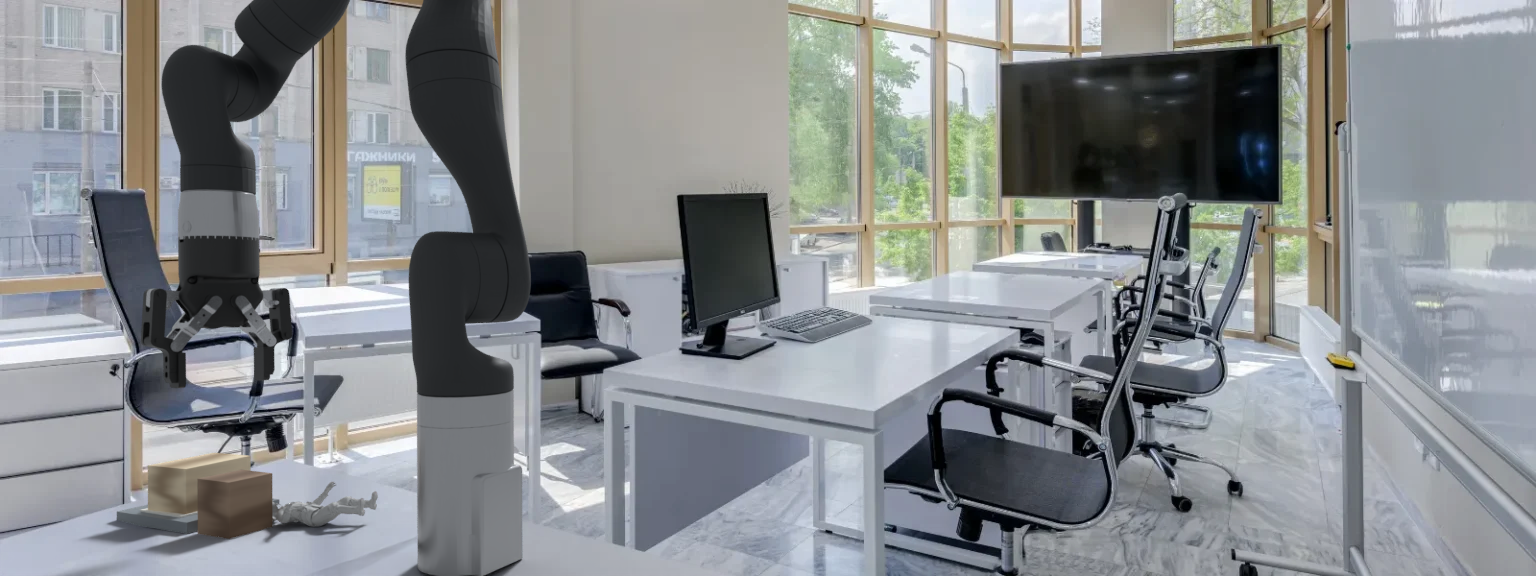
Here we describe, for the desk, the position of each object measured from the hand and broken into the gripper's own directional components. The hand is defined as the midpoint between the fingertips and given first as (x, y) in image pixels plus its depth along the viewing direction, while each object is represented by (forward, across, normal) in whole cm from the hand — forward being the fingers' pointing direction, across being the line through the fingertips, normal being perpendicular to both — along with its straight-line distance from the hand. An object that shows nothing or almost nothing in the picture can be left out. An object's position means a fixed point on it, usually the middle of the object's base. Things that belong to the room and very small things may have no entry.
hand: (221, 383), depth 95 cm
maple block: (+14, -2, -9) cm, 17 cm away
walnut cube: (+16, -1, +1) cm, 16 cm away
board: (+16, -2, -9) cm, 18 cm away
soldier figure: (+15, -10, +11) cm, 21 cm away
